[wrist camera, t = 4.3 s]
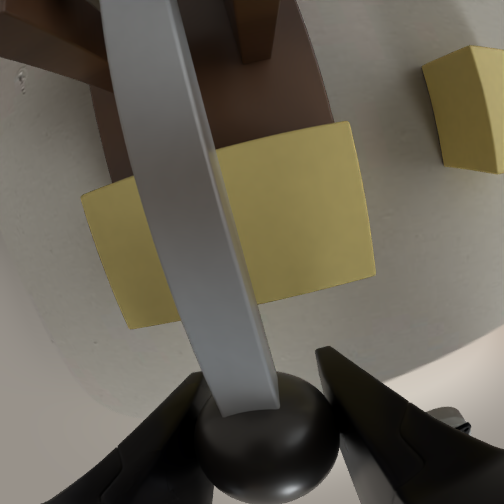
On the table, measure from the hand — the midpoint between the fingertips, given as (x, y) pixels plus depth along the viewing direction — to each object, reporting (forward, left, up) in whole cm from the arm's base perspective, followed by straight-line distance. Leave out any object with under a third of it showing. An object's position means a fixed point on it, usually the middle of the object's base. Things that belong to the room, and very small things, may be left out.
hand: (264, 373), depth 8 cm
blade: (+5, 0, +1) cm, 5 cm away
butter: (+4, 0, -5) cm, 6 cm away
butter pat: (+6, -11, -5) cm, 13 cm away
